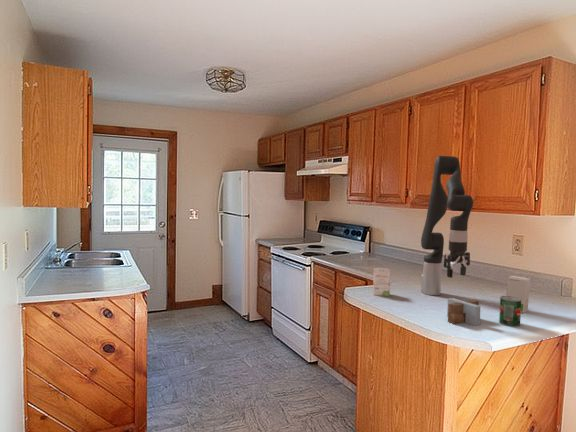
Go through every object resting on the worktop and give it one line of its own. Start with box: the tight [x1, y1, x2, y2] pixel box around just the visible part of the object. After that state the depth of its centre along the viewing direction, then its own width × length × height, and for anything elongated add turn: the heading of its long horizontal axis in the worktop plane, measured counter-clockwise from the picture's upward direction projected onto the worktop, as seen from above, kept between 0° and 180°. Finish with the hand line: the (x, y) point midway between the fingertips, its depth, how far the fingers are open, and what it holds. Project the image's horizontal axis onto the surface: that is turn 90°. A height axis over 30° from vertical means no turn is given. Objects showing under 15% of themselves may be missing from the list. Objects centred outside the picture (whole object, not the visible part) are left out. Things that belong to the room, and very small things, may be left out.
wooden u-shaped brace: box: [447, 298, 480, 325], centre depth 174 cm, size 3×16×8 cm, turn 119°
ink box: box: [372, 267, 391, 297], centre depth 215 cm, size 9×5×15 cm, turn 74°
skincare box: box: [505, 275, 531, 314], centre depth 190 cm, size 8×7×16 cm
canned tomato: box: [498, 295, 522, 328], centre depth 170 cm, size 8×8×11 cm
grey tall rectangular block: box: [446, 297, 481, 327], centre depth 174 cm, size 14×3×8 cm, turn 29°
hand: (456, 276), depth 179 cm, fingers open, 8 cm apart
